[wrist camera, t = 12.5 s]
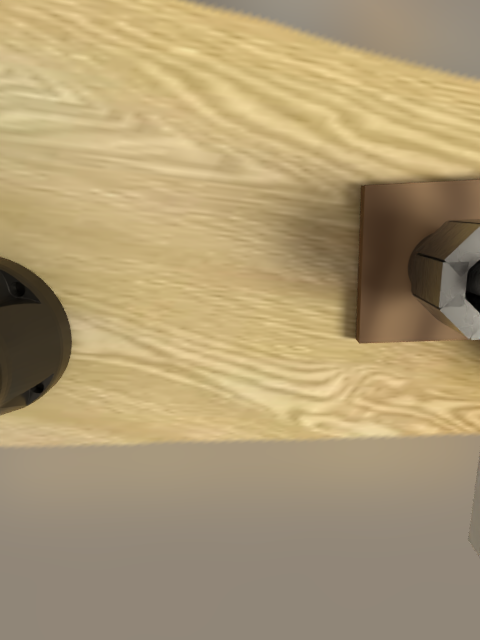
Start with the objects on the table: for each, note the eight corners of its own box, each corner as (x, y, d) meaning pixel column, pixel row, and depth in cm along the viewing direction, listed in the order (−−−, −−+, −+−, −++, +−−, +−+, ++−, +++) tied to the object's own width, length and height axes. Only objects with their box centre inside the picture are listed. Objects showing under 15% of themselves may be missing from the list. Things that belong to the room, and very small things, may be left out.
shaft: (405, 299, 36) (465, 336, 26) (410, 231, 35) (475, 243, 25) (473, 297, 36) (559, 333, 26) (481, 228, 35) (576, 238, 24)
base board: (355, 339, 39) (359, 343, 38) (361, 185, 35) (365, 185, 34) (505, 333, 38) (512, 338, 37) (527, 177, 34) (536, 176, 33)
